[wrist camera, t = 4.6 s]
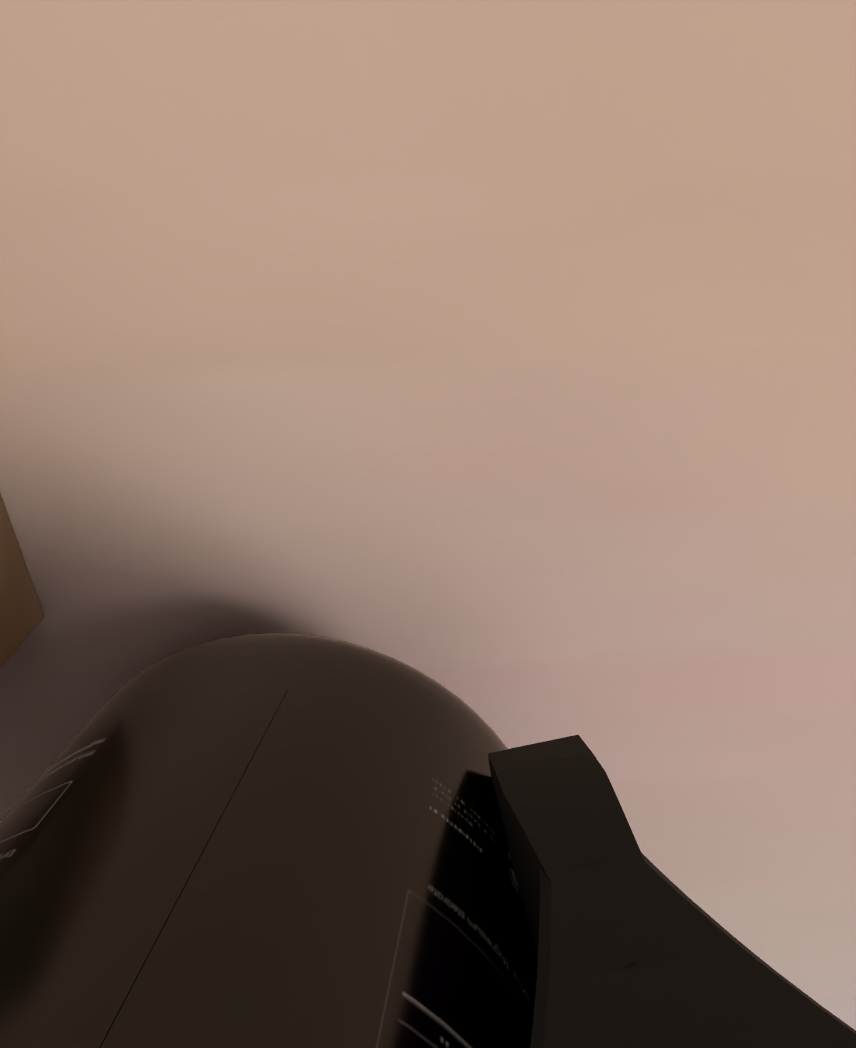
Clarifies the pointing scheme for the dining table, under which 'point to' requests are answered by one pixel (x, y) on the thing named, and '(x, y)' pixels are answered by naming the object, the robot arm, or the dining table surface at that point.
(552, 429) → the dining table surface
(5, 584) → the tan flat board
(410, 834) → the supplement bottle
